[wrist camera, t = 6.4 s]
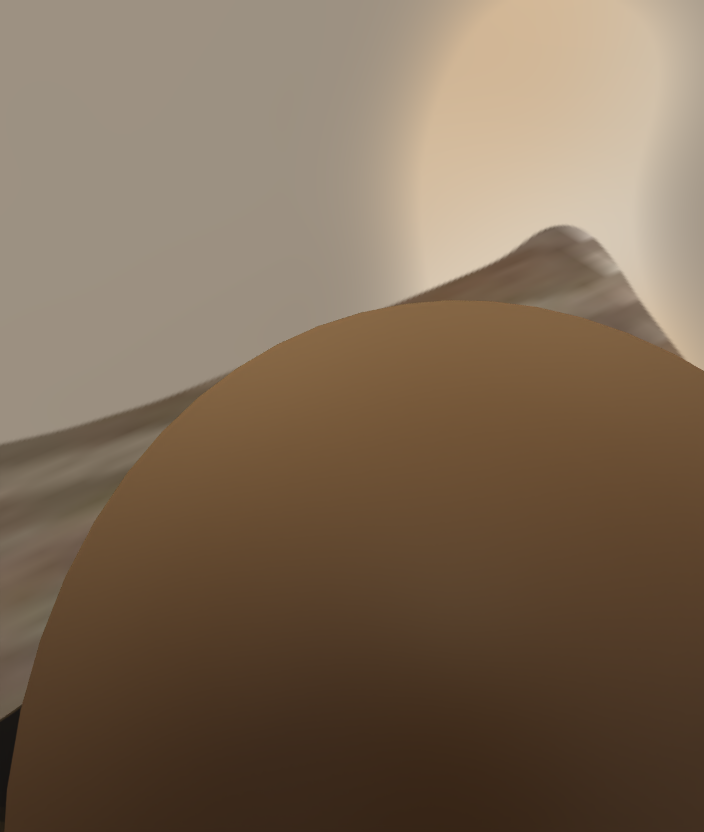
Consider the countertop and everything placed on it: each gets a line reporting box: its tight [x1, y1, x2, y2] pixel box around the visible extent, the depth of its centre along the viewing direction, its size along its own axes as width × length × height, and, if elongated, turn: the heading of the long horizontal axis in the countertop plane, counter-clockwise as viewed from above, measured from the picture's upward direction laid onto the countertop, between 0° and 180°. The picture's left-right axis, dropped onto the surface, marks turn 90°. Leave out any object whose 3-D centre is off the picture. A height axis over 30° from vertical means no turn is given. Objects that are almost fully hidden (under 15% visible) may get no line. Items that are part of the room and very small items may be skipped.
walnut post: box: [4, 300, 704, 832], centre depth 8 cm, size 5×5×13 cm
